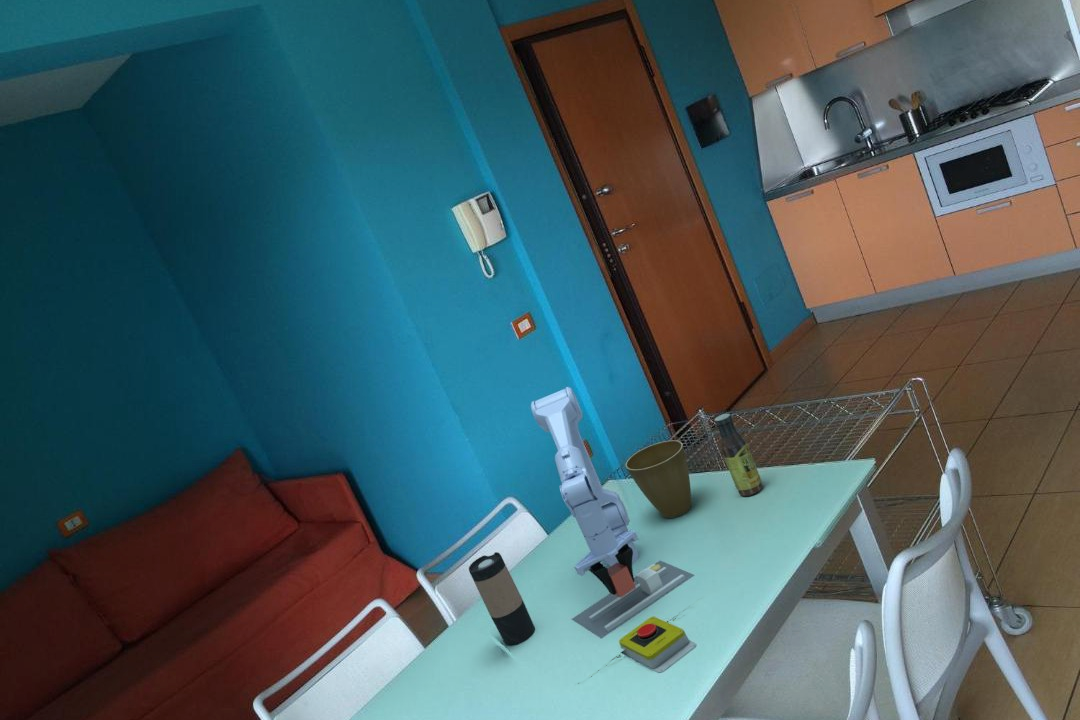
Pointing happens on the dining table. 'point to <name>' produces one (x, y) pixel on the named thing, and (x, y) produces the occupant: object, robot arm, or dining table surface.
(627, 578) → the block
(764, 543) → the dining table surface
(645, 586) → the lever
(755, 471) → the sauce bottle
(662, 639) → the emergency button
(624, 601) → the panel
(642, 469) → the plant pot
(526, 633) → the travel mug
